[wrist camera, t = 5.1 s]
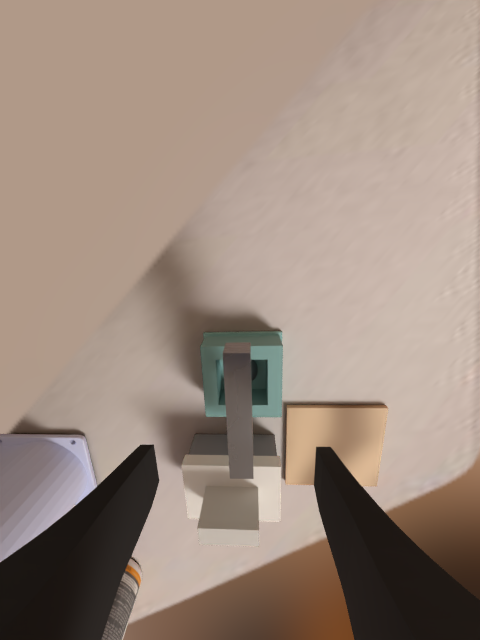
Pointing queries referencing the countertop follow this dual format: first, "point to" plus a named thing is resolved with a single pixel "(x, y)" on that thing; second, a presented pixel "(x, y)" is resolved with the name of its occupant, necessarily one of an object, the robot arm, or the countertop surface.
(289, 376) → the countertop surface
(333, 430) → the cork mat
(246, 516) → the cover
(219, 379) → the key socket
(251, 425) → the t key
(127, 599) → the pill bottle
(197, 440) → the box
